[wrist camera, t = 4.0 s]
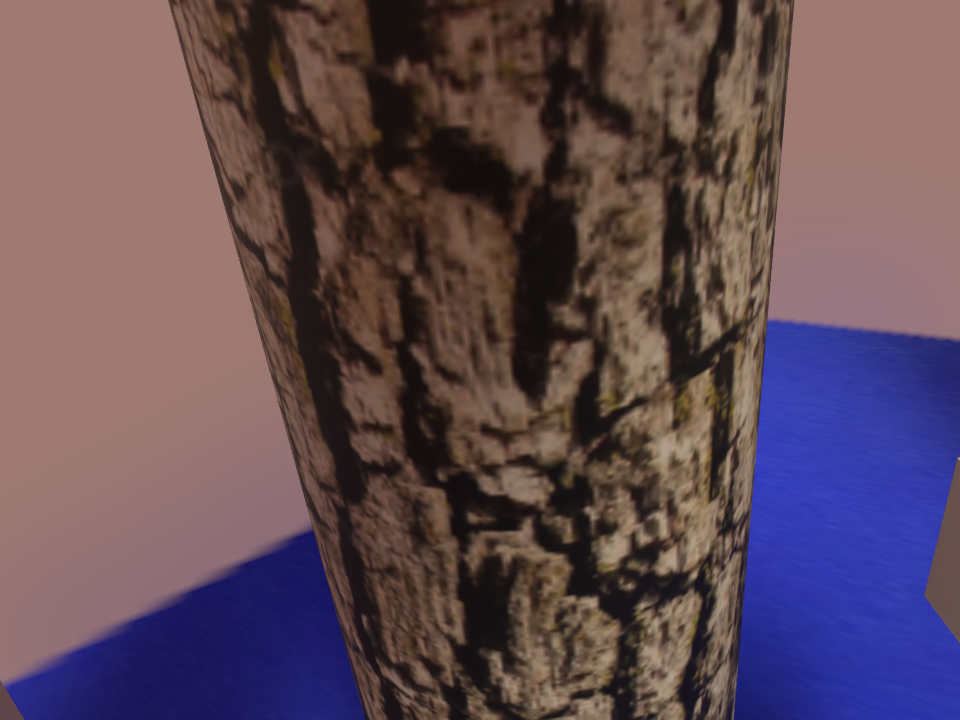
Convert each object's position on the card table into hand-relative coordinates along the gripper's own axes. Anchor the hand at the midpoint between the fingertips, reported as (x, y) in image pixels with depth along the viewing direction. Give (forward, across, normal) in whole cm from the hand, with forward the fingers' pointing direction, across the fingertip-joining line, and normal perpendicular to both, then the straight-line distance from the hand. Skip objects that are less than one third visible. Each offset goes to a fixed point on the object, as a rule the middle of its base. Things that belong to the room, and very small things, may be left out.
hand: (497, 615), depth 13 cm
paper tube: (+2, +1, -14) cm, 14 cm away
